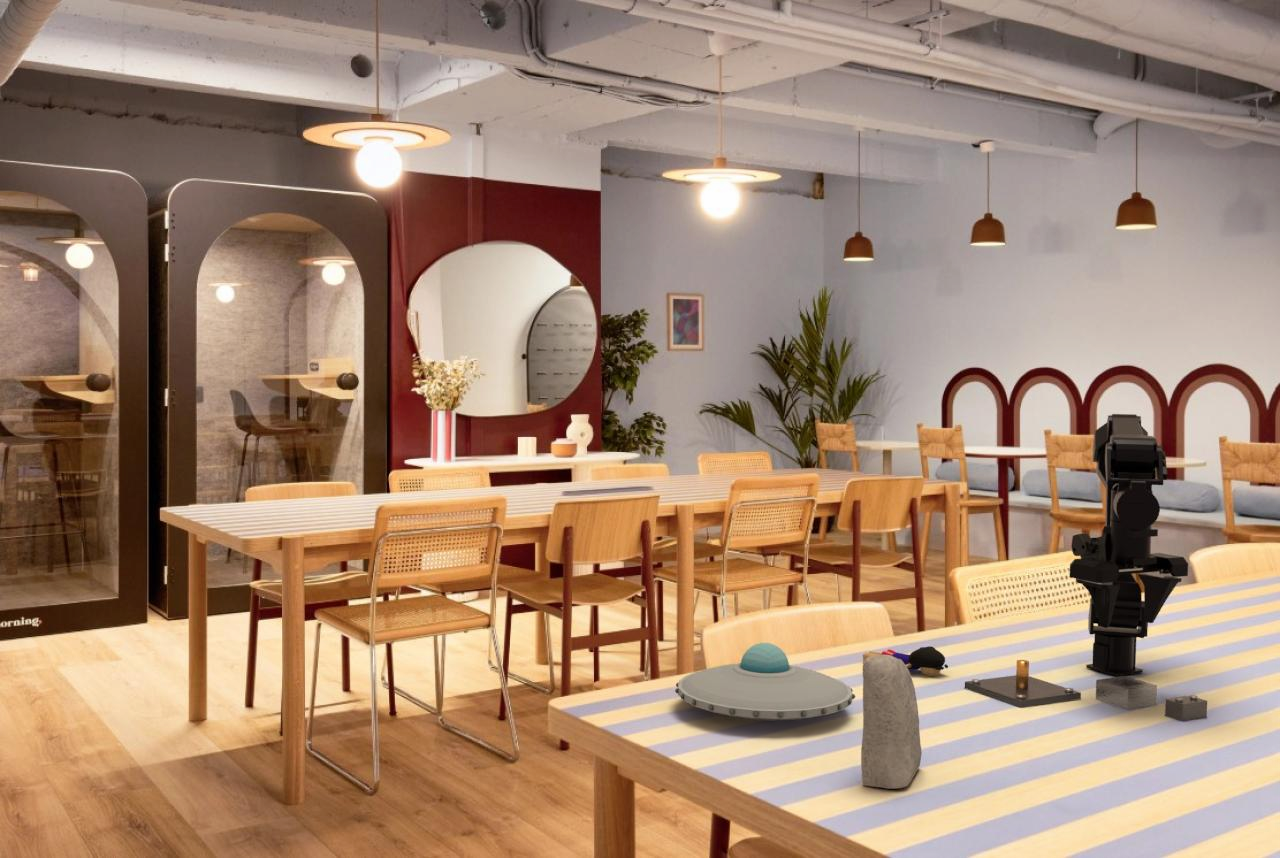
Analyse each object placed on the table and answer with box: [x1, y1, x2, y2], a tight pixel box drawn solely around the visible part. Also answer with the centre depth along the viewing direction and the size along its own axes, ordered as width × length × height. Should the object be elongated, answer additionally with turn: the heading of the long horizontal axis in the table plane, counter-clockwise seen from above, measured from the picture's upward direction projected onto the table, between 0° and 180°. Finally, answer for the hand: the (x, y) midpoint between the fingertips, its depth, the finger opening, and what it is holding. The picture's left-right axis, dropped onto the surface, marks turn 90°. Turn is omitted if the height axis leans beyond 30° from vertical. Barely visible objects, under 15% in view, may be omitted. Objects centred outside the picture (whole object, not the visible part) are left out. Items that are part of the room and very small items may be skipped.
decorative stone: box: [860, 655, 922, 790], centre depth 146 cm, size 11×6×15 cm, turn 150°
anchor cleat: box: [1164, 694, 1208, 722], centre depth 174 cm, size 5×3×3 cm, turn 116°
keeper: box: [964, 659, 1082, 708], centre depth 186 cm, size 12×12×5 cm
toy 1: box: [674, 642, 856, 721], centre depth 173 cm, size 26×26×10 cm
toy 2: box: [862, 645, 949, 677], centre depth 200 cm, size 10×5×15 cm
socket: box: [1095, 675, 1158, 710], centre depth 182 cm, size 6×6×3 cm
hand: (1127, 624), depth 181 cm, fingers open, 9 cm apart
